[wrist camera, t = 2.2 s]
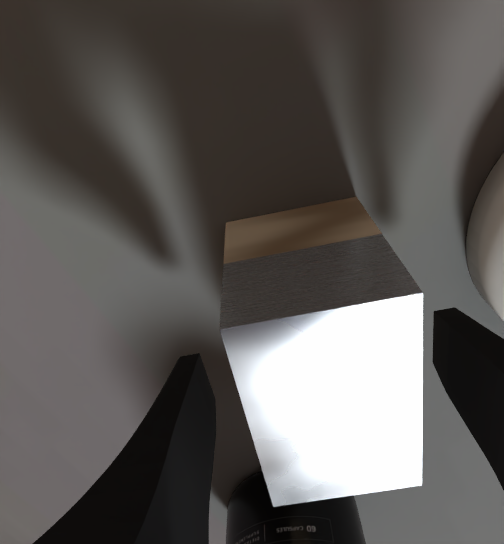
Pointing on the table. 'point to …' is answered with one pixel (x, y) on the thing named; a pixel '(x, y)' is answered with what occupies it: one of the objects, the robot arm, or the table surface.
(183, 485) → the robot arm
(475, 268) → the stand
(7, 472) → the table surface
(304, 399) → the block
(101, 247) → the table surface
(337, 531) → the supplement bottle
